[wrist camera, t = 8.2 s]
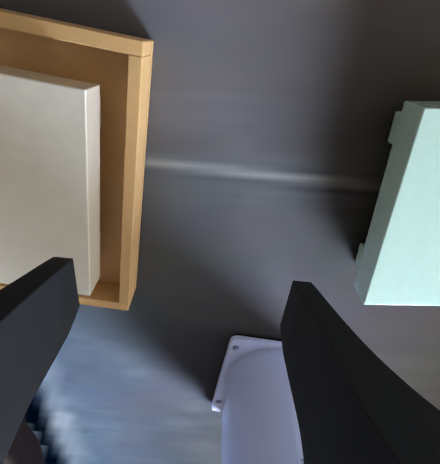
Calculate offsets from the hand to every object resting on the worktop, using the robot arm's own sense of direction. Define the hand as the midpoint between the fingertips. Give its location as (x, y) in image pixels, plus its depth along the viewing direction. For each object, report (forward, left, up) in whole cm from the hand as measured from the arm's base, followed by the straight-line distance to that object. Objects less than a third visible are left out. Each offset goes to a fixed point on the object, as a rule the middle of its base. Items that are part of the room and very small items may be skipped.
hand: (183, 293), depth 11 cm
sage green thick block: (+2, -12, -9) cm, 15 cm away
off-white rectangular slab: (-1, +8, -9) cm, 12 cm away
